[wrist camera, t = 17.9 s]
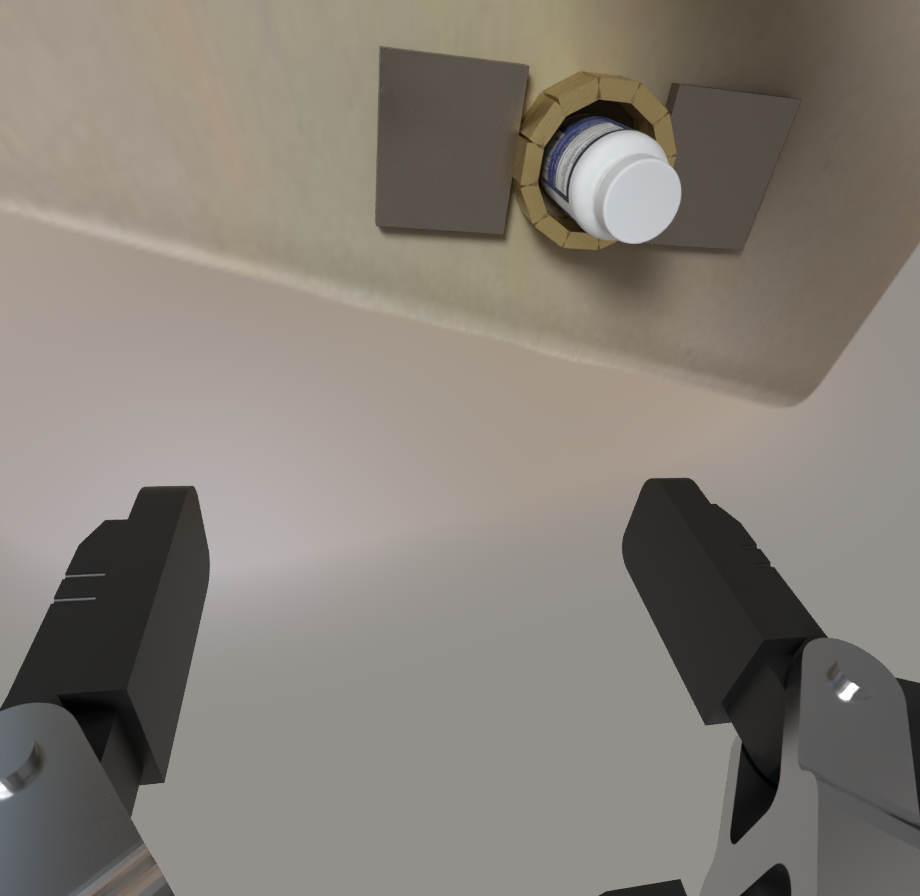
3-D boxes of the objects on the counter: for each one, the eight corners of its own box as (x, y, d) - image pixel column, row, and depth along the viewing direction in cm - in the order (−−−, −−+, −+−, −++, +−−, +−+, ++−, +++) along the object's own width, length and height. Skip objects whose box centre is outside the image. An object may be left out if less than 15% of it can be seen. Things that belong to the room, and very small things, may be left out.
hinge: (379, 46, 31) (382, 50, 29) (791, 97, 36) (822, 104, 34) (375, 220, 36) (377, 236, 34) (734, 245, 41) (758, 260, 39)
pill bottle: (633, 177, 37) (708, 223, 30) (557, 222, 38) (610, 278, 31) (604, 91, 34) (680, 118, 26) (522, 143, 35) (572, 184, 27)
